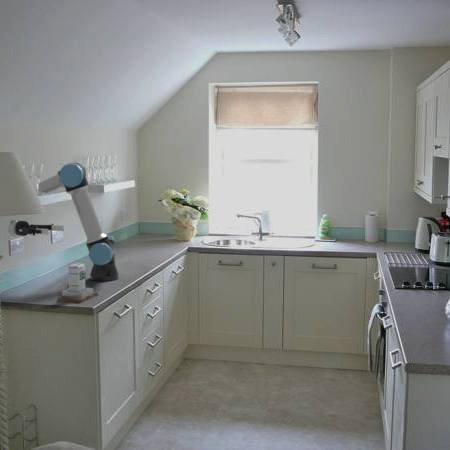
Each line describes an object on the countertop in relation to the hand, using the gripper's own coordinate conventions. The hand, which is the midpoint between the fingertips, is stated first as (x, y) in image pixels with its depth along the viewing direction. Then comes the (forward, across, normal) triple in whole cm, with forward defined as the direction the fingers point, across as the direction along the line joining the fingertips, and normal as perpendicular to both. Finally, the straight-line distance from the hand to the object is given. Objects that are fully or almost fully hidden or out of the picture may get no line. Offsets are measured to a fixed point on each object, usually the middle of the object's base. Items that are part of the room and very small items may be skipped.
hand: (55, 230), depth 314 cm
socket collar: (+19, +12, -28) cm, 36 cm away
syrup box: (+19, +12, -29) cm, 36 cm away
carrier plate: (+19, +12, -30) cm, 37 cm away
